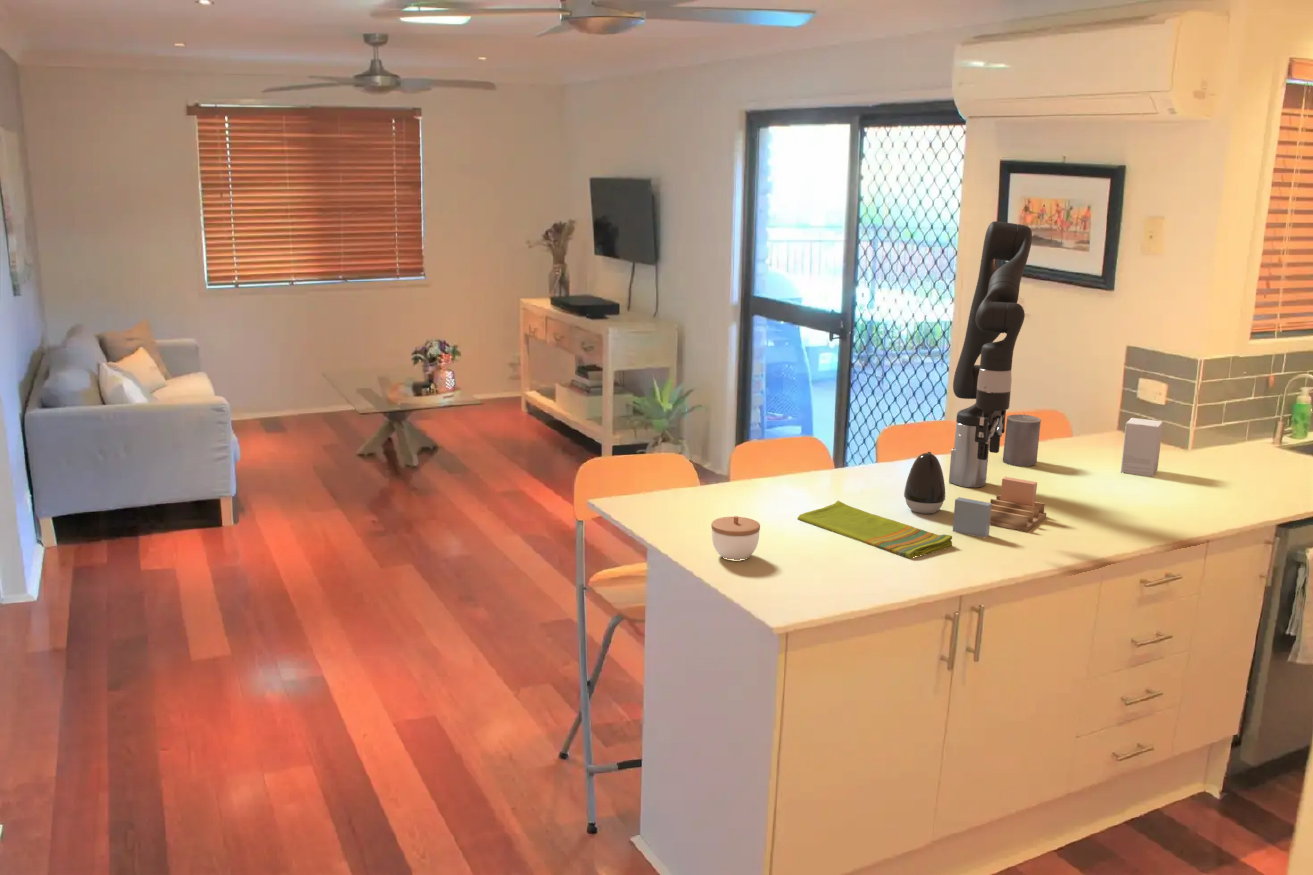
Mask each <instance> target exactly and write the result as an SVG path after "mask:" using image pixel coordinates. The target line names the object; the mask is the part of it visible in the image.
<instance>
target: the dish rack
mask: <svg viewBox="0 0 1313 875" xmlns="http://www.w3.org/2000/svg"><path fill="white" fill-rule="evenodd" d="M1000 497H1001V494H997V495H996V499H995V498H990V502H989V503H992V506H991V517H990V526H995V527H1000V528H1005V529H1010V530H1015V529H1017V530H1016V531H1020V530H1022V531H1021V532H1025V533H1028V532H1029V531H1031V529H1032V528H1033V529H1034V527H1035V526H1037V525H1038V524H1039V523H1040V522H1041V521H1042V520H1044V519H1045V518H1046V517H1047V512H1045V508H1046V507H1045V506H1046V503H1045V502H1039V501H1035V507H1033V506H1028V505H1022V504H1017V503H1011V502H1006V501H1001V500H1000ZM1027 531H1028V532H1027Z"/></svg>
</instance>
